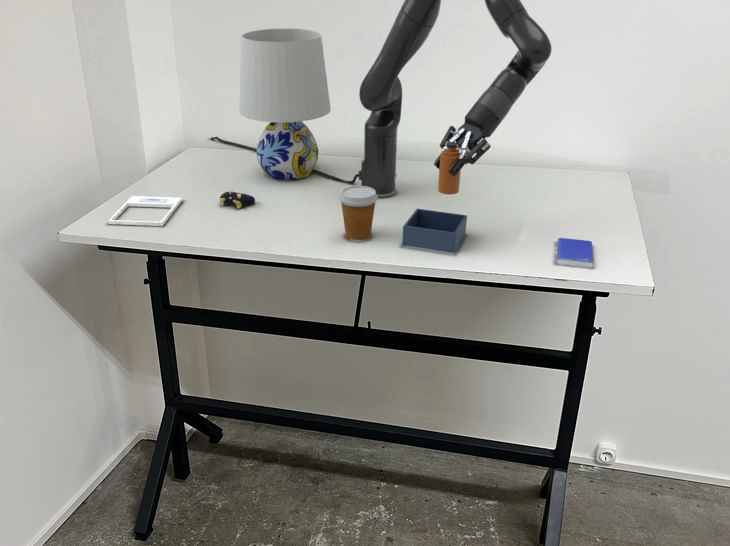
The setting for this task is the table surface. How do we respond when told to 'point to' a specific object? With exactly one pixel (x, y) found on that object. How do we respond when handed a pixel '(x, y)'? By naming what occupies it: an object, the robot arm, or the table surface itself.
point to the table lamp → (284, 96)
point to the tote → (434, 230)
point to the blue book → (575, 252)
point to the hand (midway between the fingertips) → (443, 170)
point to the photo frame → (147, 202)
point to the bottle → (446, 180)
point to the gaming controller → (236, 199)
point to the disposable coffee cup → (358, 211)
